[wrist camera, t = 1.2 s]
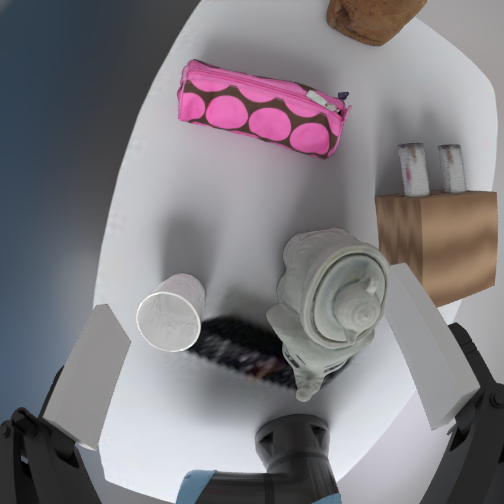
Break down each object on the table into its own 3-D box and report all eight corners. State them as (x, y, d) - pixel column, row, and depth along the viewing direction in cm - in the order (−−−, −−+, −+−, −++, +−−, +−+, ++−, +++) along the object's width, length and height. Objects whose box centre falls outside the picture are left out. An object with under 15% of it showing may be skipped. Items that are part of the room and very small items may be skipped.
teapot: (290, 349, 43) (316, 433, 24) (230, 279, 40) (221, 347, 22) (372, 286, 41) (442, 340, 23) (321, 209, 39) (385, 221, 20)
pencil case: (335, 104, 36) (361, 81, 26) (323, 164, 38) (348, 155, 28) (194, 72, 34) (181, 40, 24) (176, 131, 36) (156, 112, 26)
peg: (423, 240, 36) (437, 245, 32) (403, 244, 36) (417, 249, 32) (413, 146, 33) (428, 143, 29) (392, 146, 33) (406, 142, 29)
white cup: (149, 280, 40) (124, 305, 30) (195, 260, 39) (181, 281, 30) (173, 325, 41) (156, 359, 32) (218, 308, 41) (211, 340, 31)
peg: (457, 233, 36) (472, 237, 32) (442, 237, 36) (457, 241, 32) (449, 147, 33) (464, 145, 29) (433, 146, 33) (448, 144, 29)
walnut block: (450, 266, 41) (494, 285, 30) (380, 284, 41) (420, 313, 29) (448, 189, 39) (496, 192, 27) (374, 196, 38) (420, 199, 27)
